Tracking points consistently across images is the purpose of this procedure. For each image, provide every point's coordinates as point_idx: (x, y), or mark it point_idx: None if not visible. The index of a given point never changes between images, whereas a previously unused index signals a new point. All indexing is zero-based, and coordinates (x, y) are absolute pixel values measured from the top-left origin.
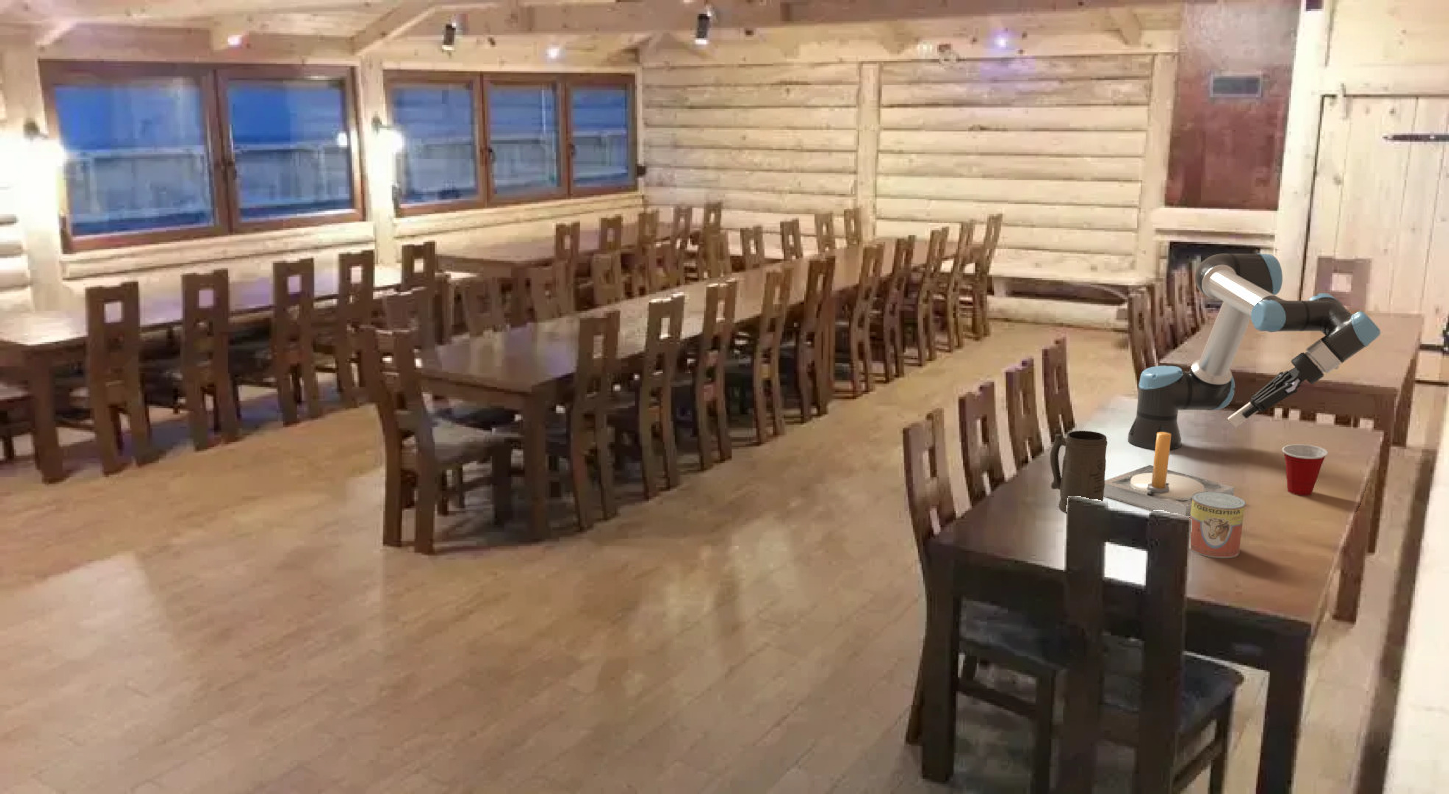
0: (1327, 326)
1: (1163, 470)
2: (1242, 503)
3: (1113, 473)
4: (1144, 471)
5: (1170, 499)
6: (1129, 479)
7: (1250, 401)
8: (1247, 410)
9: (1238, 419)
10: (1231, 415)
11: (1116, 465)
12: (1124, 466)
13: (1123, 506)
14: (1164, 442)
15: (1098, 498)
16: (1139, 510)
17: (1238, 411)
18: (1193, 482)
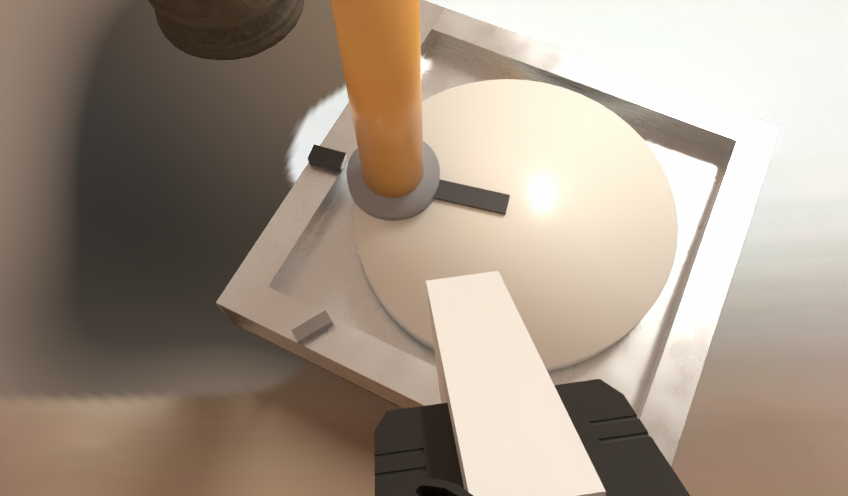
0: None
1: (358, 133)
2: None
3: (716, 49)
4: (670, 118)
5: (294, 235)
6: (555, 84)
7: (414, 493)
8: (400, 475)
9: (442, 391)
10: (495, 294)
11: (833, 48)
12: (841, 73)
13: (318, 113)
14: (333, 11)
15: (166, 5)
16: (292, 164)
17: (471, 350)
18: (597, 312)
